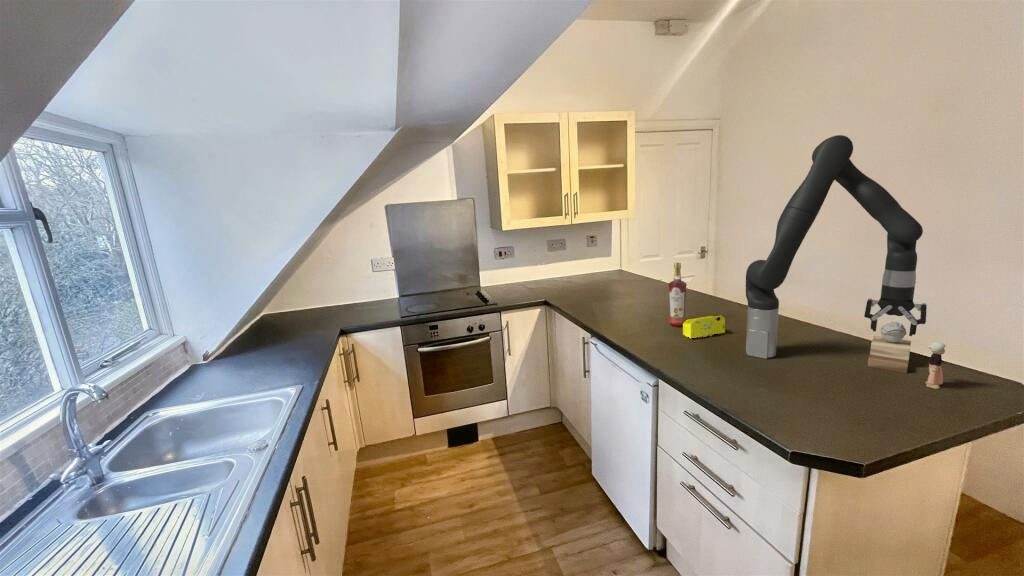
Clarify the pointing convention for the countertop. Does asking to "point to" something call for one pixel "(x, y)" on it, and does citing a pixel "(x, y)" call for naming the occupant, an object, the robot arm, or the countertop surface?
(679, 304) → the liquor
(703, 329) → the yellow toy chassis
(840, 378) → the countertop surface
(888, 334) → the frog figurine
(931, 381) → the grandmother figurine
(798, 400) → the countertop surface
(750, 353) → the robot arm
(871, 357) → the plinth
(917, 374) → the countertop surface
